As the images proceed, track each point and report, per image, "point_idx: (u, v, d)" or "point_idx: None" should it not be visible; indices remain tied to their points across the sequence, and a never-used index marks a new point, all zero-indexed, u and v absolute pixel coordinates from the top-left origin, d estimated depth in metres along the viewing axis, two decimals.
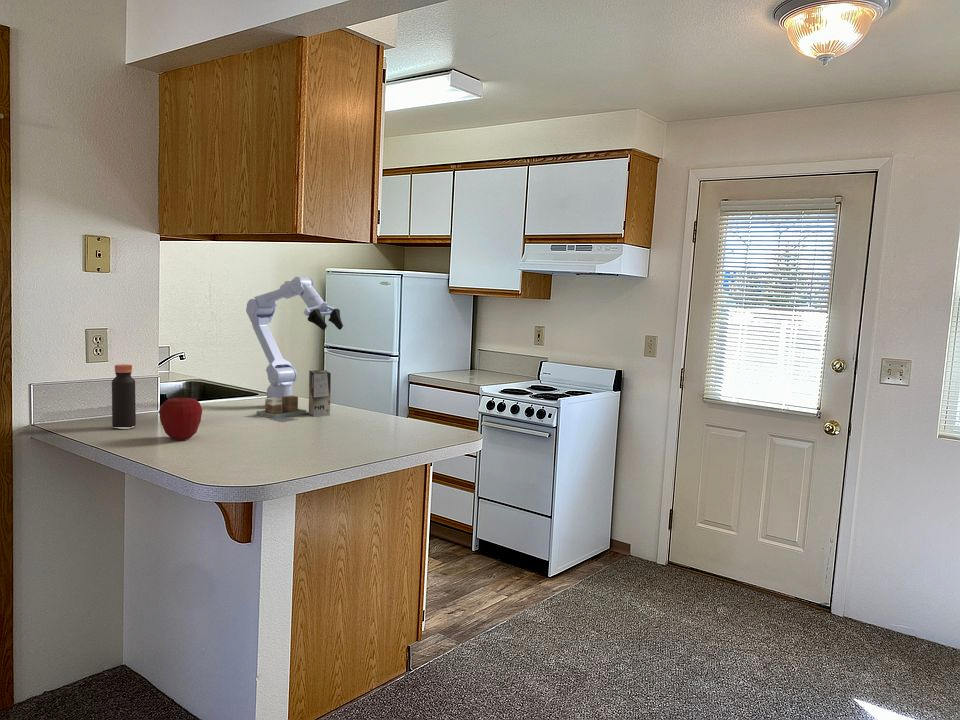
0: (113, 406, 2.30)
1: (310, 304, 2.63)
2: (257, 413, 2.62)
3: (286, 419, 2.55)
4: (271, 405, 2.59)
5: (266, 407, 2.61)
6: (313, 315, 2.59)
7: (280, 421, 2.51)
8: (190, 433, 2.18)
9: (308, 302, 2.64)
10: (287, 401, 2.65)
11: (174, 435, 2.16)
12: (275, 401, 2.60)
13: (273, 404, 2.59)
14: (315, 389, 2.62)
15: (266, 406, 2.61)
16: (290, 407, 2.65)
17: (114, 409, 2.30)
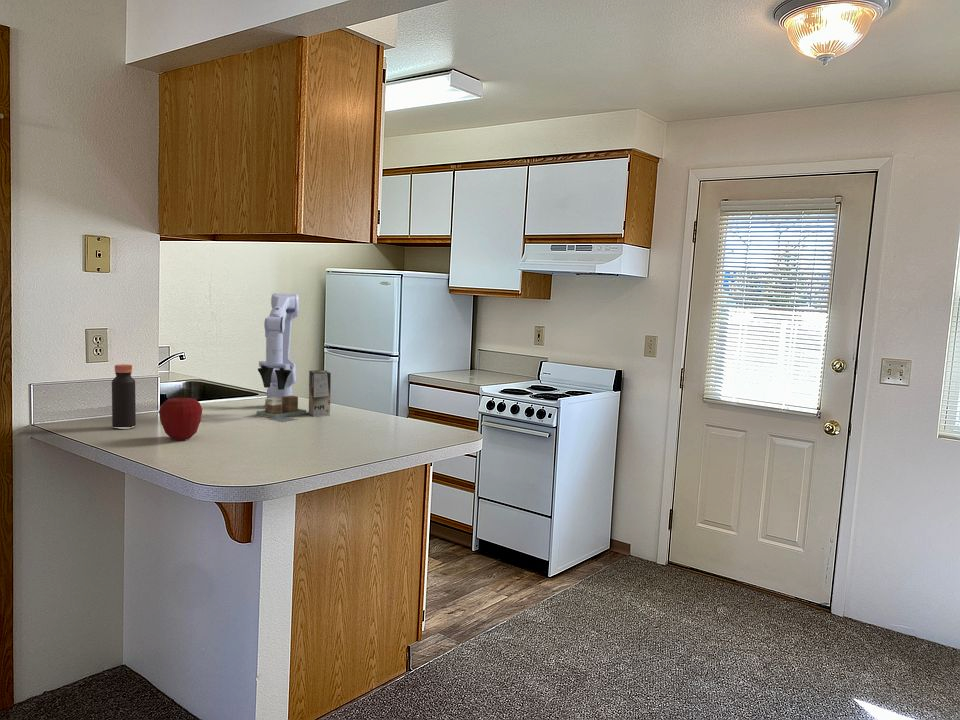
0: (113, 406, 2.30)
1: None
2: (257, 413, 2.62)
3: (286, 419, 2.55)
4: (271, 405, 2.59)
5: (266, 407, 2.61)
6: None
7: (280, 421, 2.51)
8: (190, 433, 2.18)
9: None
10: (287, 401, 2.65)
11: (174, 435, 2.16)
12: (275, 401, 2.60)
13: (273, 404, 2.59)
14: (315, 389, 2.62)
15: (266, 406, 2.61)
16: (290, 407, 2.65)
17: (114, 409, 2.30)
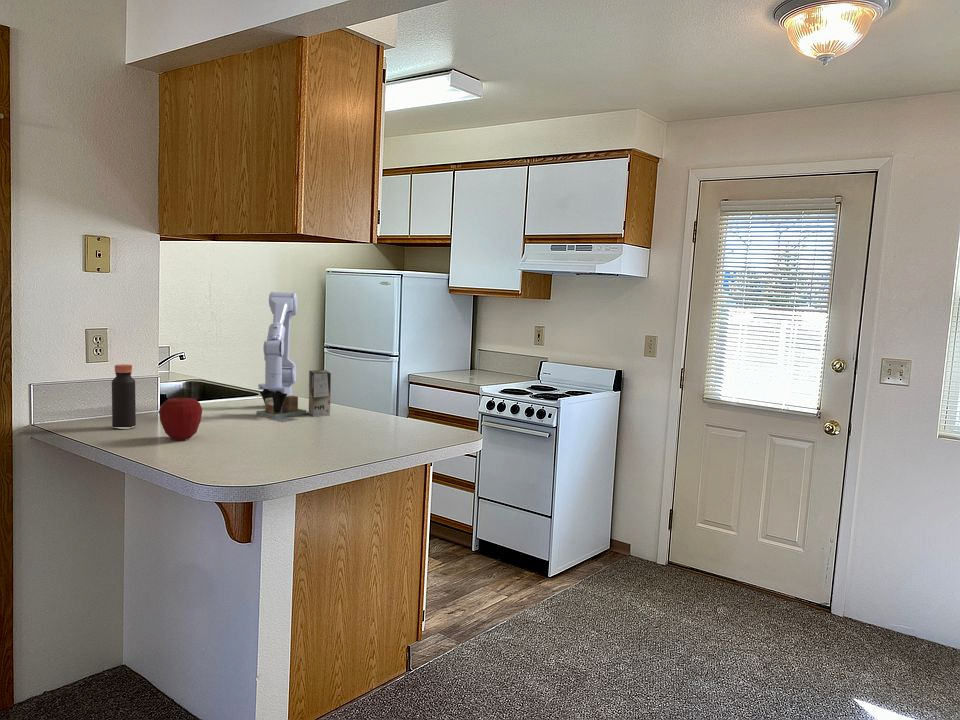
0: (113, 406, 2.30)
1: None
2: (257, 413, 2.62)
3: (286, 419, 2.55)
4: (271, 405, 2.59)
5: (266, 407, 2.61)
6: None
7: (280, 421, 2.51)
8: (190, 433, 2.18)
9: None
10: (287, 401, 2.65)
11: (174, 435, 2.16)
12: None
13: (273, 404, 2.59)
14: (315, 389, 2.62)
15: (266, 406, 2.61)
16: (290, 407, 2.65)
17: (114, 409, 2.30)
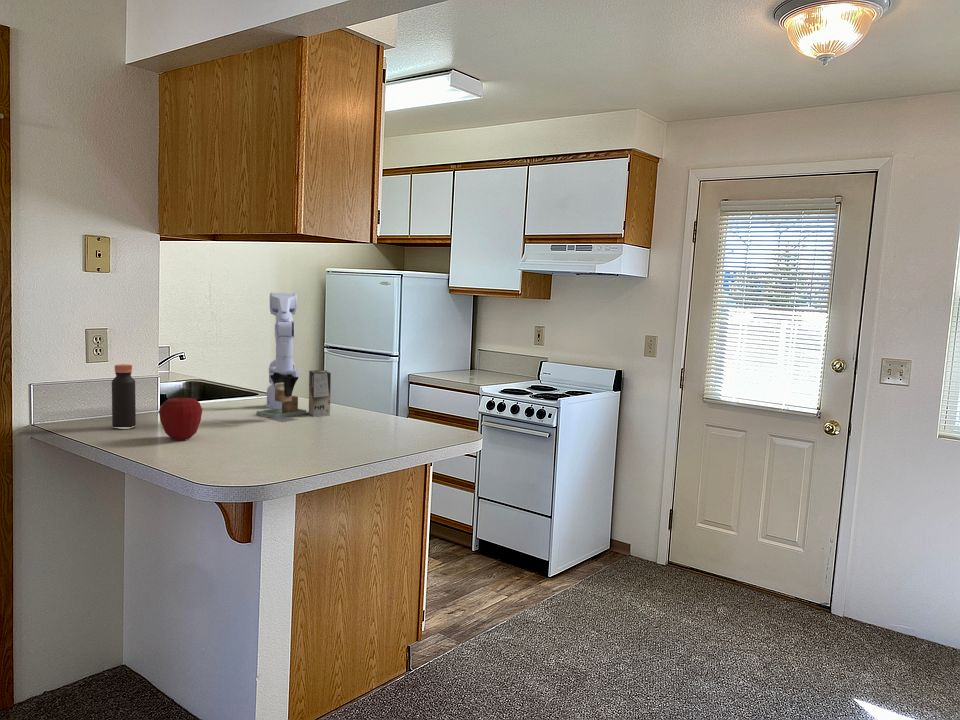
0: (113, 406, 2.30)
1: None
2: (257, 413, 2.62)
3: (286, 419, 2.55)
4: (281, 390, 2.51)
5: (276, 392, 2.52)
6: None
7: (280, 421, 2.51)
8: (190, 433, 2.18)
9: None
10: (287, 401, 2.65)
11: (174, 435, 2.16)
12: None
13: (283, 389, 2.51)
14: (315, 389, 2.62)
15: (276, 391, 2.52)
16: (290, 407, 2.65)
17: (114, 409, 2.30)
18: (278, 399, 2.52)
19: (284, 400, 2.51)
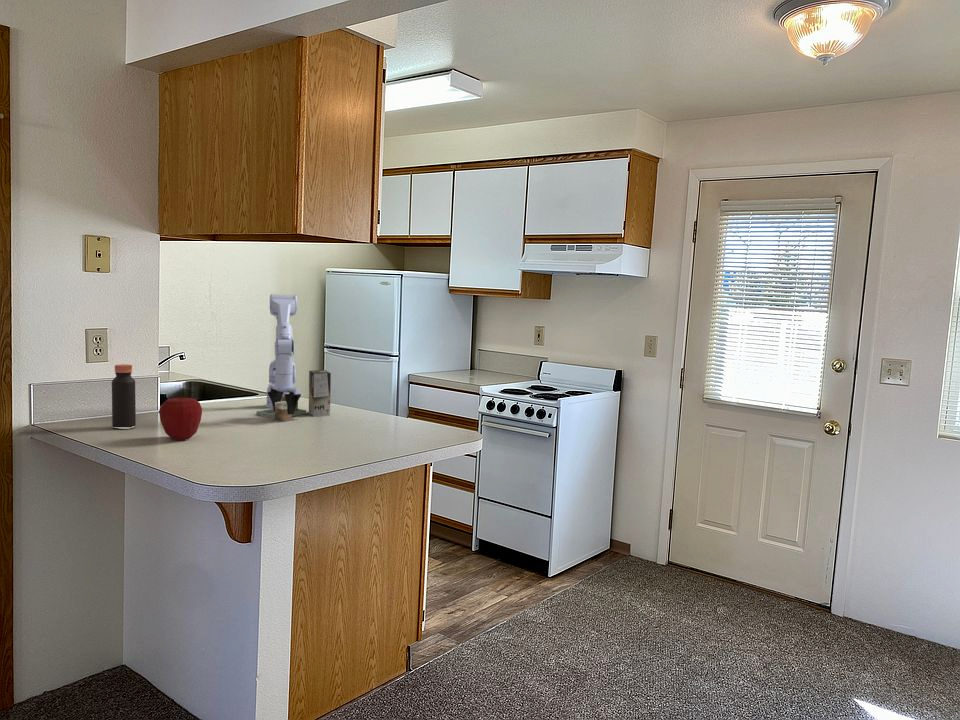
0: (113, 406, 2.30)
1: None
2: (257, 413, 2.62)
3: None
4: (281, 409, 2.51)
5: (276, 411, 2.53)
6: None
7: (280, 421, 2.51)
8: (190, 433, 2.18)
9: None
10: None
11: (174, 435, 2.16)
12: (285, 405, 2.52)
13: (283, 408, 2.51)
14: (315, 389, 2.62)
15: (276, 410, 2.53)
16: None
17: (114, 409, 2.30)
18: (278, 418, 2.53)
19: (284, 419, 2.52)
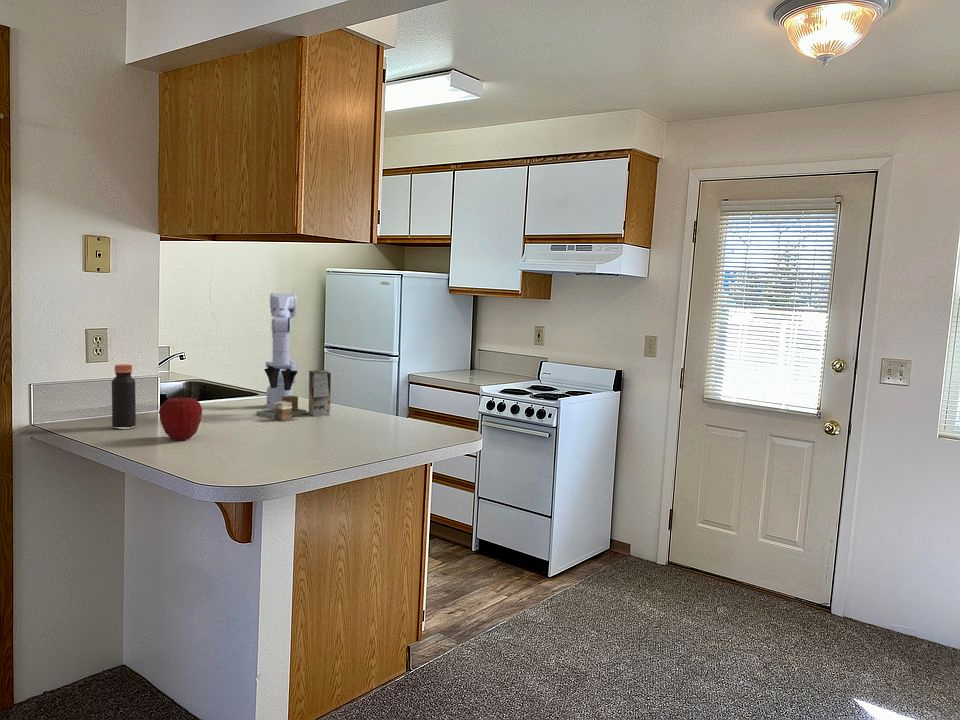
0: (113, 406, 2.30)
1: None
2: (257, 413, 2.62)
3: None
4: (281, 409, 2.51)
5: (276, 411, 2.53)
6: None
7: (280, 421, 2.51)
8: (190, 433, 2.18)
9: None
10: (287, 401, 2.65)
11: (174, 435, 2.16)
12: (285, 405, 2.52)
13: (283, 408, 2.51)
14: (315, 389, 2.62)
15: (276, 410, 2.53)
16: None
17: (114, 409, 2.30)
18: (278, 418, 2.53)
19: (284, 419, 2.52)
